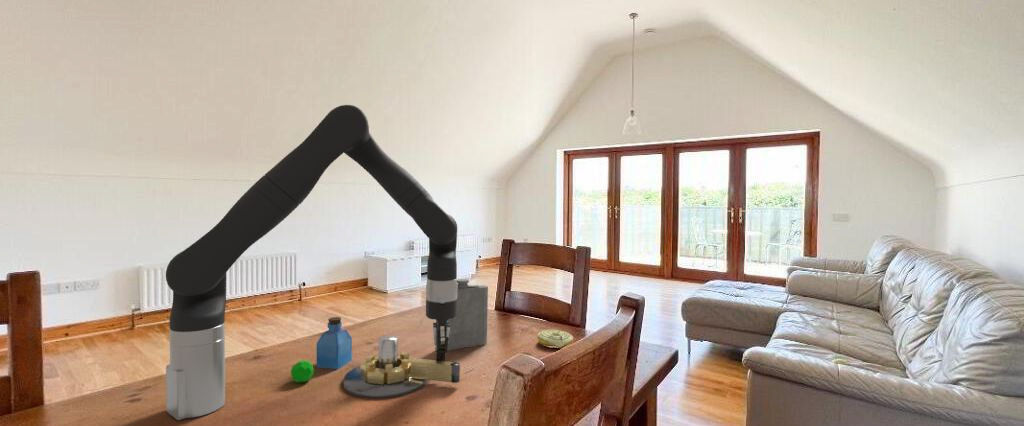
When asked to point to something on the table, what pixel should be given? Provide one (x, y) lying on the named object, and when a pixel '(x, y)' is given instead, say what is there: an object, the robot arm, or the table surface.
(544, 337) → the decorated donut
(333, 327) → the perfume bottle
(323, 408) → the table surface
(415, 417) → the table surface
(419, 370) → the ring wrench
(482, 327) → the hip flask
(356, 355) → the table surface
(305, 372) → the polyhedron
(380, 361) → the flange
